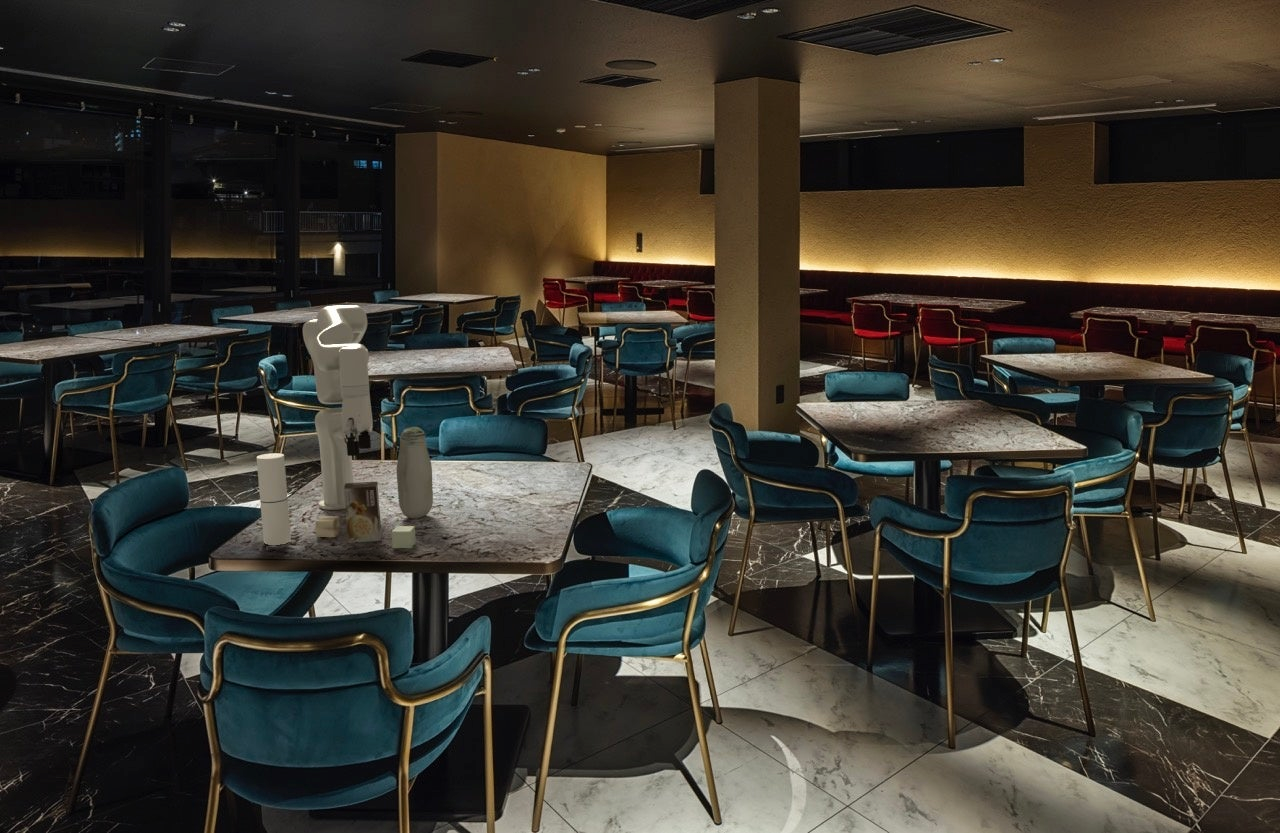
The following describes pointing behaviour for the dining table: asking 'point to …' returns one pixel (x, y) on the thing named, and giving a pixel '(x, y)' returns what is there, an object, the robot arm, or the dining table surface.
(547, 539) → the dining table surface
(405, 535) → the sage block
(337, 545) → the dining table surface
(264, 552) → the dining table surface
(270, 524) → the cylindrical container
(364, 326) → the robot arm
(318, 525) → the birch block
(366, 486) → the coffee box
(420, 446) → the grey bottle
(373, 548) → the dining table surface
